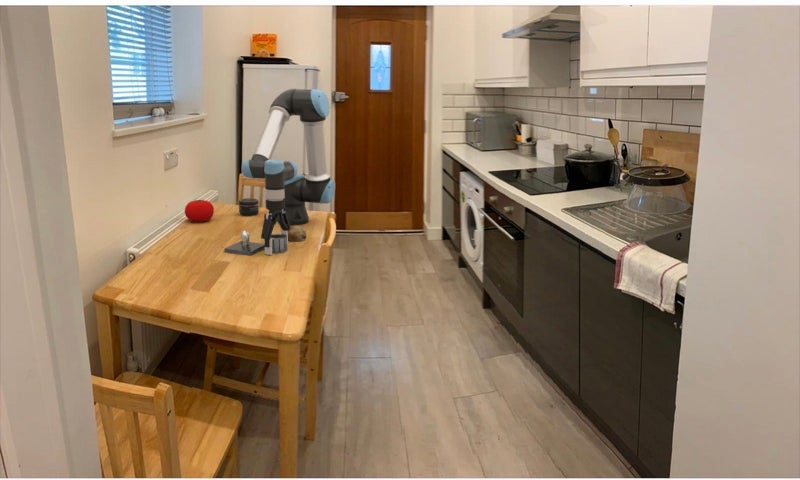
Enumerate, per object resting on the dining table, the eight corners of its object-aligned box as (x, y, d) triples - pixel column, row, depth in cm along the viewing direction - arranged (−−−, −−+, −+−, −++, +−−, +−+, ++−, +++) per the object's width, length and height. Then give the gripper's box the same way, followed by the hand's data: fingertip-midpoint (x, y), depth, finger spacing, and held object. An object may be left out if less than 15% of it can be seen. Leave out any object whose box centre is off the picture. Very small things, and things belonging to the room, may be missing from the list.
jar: (235, 214, 282) (234, 199, 280) (251, 211, 289) (250, 197, 287) (246, 217, 276) (245, 202, 273) (263, 214, 283) (262, 200, 281)
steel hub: (272, 246, 229) (272, 232, 227) (290, 248, 226) (290, 234, 225) (262, 252, 221) (261, 237, 219) (281, 254, 219) (280, 240, 217)
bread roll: (297, 250, 236) (304, 235, 234) (276, 239, 237) (283, 223, 234) (305, 244, 246) (312, 229, 243) (285, 233, 246) (292, 218, 243)
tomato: (202, 225, 258) (201, 204, 255) (179, 222, 261) (177, 201, 259) (220, 218, 271) (219, 198, 268) (198, 216, 275) (196, 196, 272)
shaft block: (241, 244, 230) (240, 225, 228) (266, 247, 227) (265, 228, 225) (224, 252, 219) (223, 232, 217) (250, 255, 216) (249, 235, 214)
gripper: (281, 192, 230) (283, 241, 236) (250, 204, 207) (252, 257, 213) (297, 194, 228) (298, 243, 234) (267, 205, 205) (269, 259, 211)
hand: (276, 250), depth 223 cm, fingers open, 13 cm apart
